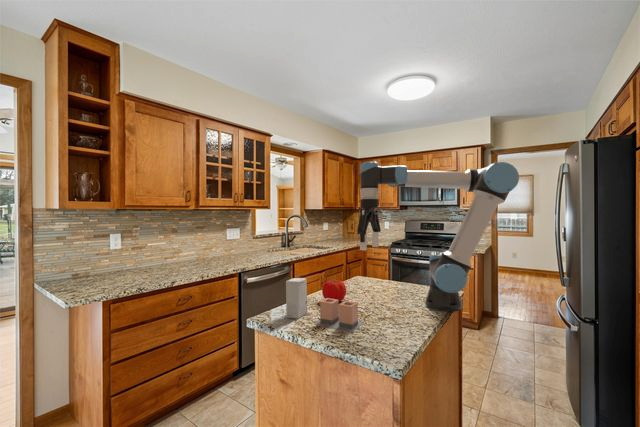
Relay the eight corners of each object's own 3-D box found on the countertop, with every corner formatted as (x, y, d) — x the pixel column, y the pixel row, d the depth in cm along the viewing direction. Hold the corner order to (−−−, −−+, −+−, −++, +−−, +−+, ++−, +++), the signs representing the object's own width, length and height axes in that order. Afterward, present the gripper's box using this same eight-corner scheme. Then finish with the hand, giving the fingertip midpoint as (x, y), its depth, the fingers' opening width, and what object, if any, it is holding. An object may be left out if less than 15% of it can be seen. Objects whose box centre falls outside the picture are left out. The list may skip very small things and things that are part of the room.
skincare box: (298, 319, 122) (298, 282, 122) (285, 317, 124) (285, 280, 124) (307, 313, 130) (307, 277, 130) (295, 311, 132) (294, 276, 132)
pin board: (364, 324, 116) (364, 309, 116) (352, 334, 107) (351, 318, 107) (327, 316, 125) (327, 303, 125) (313, 325, 115) (312, 310, 115)
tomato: (323, 297, 153) (323, 276, 153) (346, 297, 152) (346, 277, 152) (321, 304, 141) (320, 282, 141) (346, 305, 140) (346, 282, 140)
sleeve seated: (357, 324, 115) (357, 302, 115) (351, 329, 110) (351, 306, 110) (345, 321, 117) (345, 300, 117) (339, 326, 113) (338, 304, 113)
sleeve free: (338, 320, 119) (338, 299, 119) (332, 324, 114) (332, 303, 114) (327, 318, 121) (326, 297, 121) (320, 322, 117) (320, 301, 117)
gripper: (371, 199, 144) (372, 245, 144) (348, 197, 123) (348, 251, 123) (387, 199, 140) (387, 245, 140) (366, 197, 119) (366, 252, 119)
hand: (369, 248), depth 132 cm, fingers open, 13 cm apart
